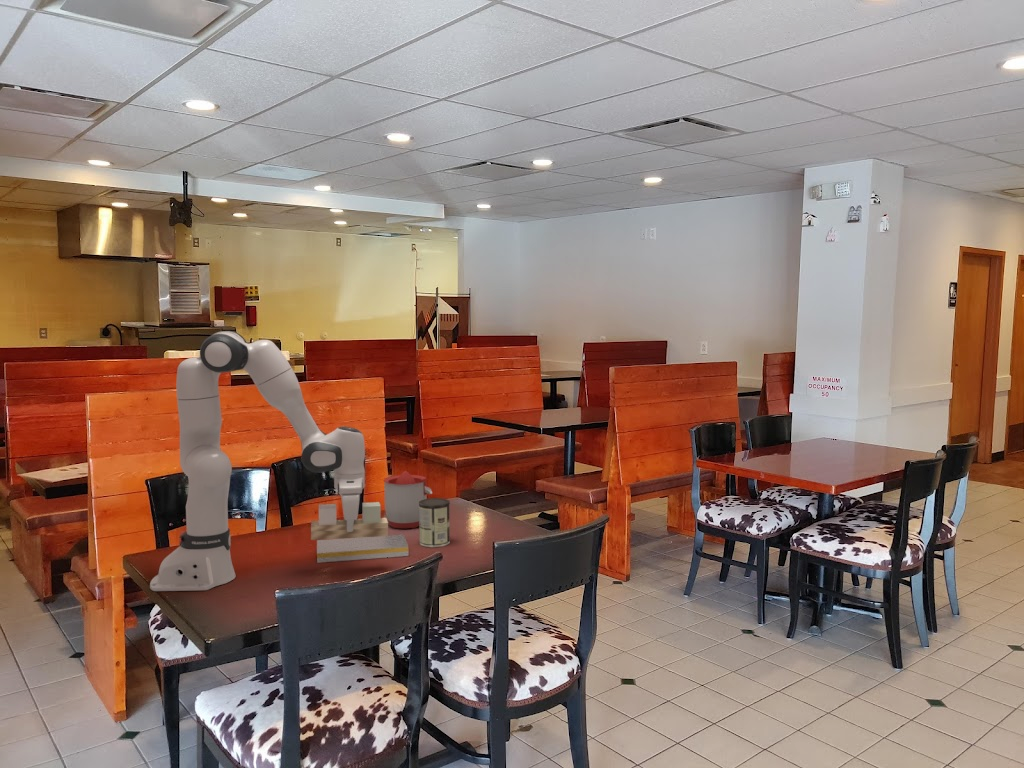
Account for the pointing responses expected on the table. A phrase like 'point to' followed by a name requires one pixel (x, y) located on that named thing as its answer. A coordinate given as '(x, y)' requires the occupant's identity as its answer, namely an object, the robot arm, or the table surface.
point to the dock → (361, 548)
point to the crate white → (327, 514)
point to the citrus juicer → (404, 499)
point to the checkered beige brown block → (341, 530)
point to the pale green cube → (371, 512)
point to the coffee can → (434, 522)
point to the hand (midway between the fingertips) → (349, 527)
